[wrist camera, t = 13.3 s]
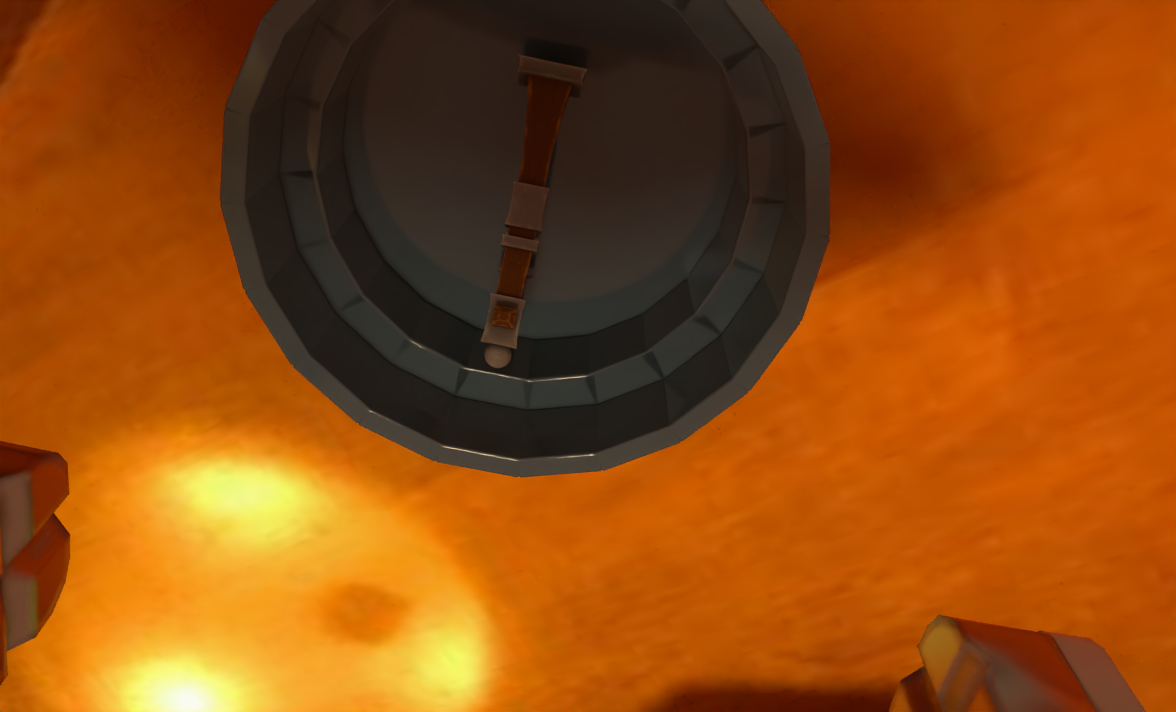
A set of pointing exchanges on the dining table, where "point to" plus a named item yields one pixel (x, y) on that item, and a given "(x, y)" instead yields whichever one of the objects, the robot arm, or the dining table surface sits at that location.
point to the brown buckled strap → (528, 197)
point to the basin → (569, 224)
